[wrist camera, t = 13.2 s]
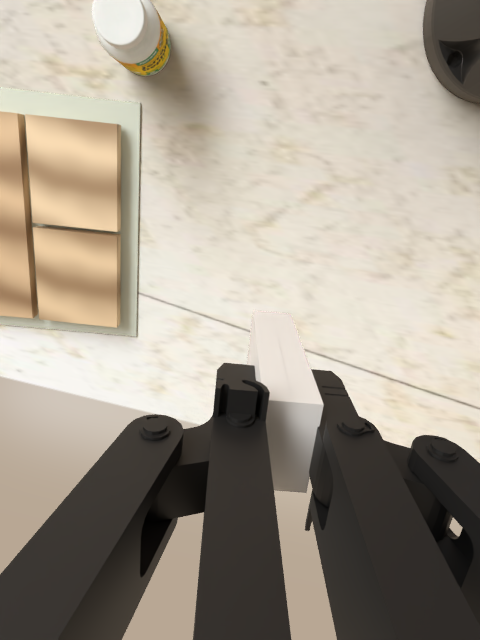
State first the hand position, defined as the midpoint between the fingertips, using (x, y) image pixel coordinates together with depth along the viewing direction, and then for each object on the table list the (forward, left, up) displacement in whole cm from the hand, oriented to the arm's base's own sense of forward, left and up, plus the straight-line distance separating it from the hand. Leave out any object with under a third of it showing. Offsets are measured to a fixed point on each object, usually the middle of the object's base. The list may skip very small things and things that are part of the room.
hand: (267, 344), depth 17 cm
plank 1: (-3, -18, -32) cm, 37 cm away
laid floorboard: (+2, -26, -32) cm, 42 cm away
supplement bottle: (-16, -12, -33) cm, 38 cm away
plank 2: (+7, -18, -32) cm, 38 cm away
